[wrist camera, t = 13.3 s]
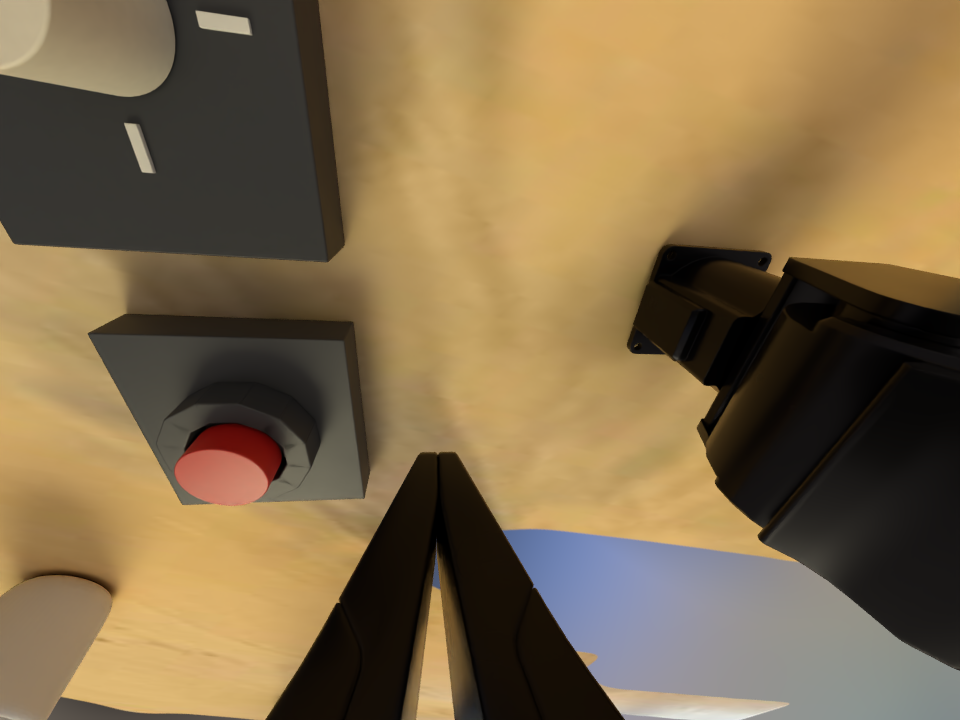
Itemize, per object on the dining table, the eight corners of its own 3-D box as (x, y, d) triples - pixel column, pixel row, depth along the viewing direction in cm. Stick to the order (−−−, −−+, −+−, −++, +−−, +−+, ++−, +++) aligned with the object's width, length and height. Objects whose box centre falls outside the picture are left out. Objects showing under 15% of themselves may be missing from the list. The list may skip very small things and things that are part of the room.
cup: (91, 634, 31) (-5, 766, 25) (-23, 610, 28) (-171, 757, 21) (148, 584, 29) (58, 719, 22) (30, 550, 25) (-123, 699, 18)
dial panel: (288, -272, 9) (229, -442, 7) (345, 246, 17) (327, 264, 14) (-217, -404, 8) (-553, -692, 5) (85, 229, 15) (8, 245, 12)
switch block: (353, 321, 19) (334, 358, 15) (370, 472, 25) (359, 523, 21) (124, 313, 17) (47, 353, 14) (202, 477, 23) (162, 532, 20)
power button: (273, 422, 17) (257, 448, 15) (289, 477, 19) (276, 504, 18) (184, 423, 16) (159, 450, 15) (210, 479, 18) (190, 507, 17)
